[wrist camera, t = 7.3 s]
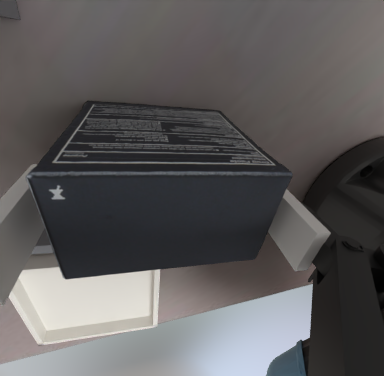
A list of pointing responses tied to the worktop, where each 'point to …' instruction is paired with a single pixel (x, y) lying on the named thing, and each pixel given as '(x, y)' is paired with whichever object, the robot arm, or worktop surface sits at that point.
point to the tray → (83, 302)
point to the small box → (154, 190)
